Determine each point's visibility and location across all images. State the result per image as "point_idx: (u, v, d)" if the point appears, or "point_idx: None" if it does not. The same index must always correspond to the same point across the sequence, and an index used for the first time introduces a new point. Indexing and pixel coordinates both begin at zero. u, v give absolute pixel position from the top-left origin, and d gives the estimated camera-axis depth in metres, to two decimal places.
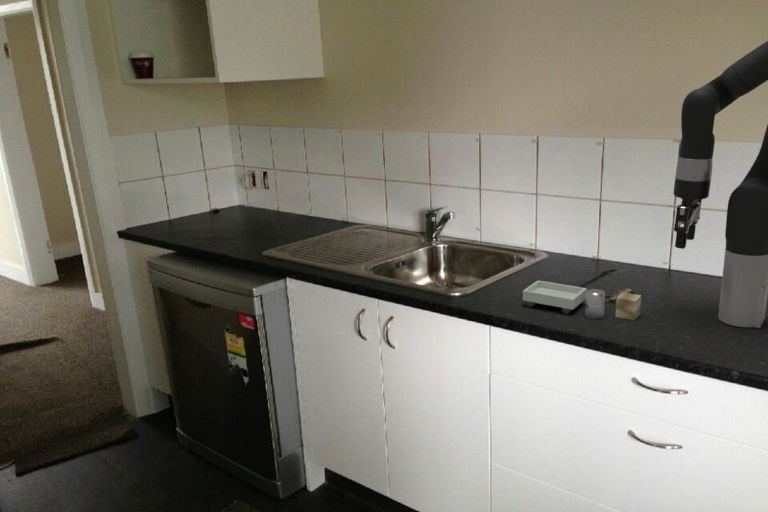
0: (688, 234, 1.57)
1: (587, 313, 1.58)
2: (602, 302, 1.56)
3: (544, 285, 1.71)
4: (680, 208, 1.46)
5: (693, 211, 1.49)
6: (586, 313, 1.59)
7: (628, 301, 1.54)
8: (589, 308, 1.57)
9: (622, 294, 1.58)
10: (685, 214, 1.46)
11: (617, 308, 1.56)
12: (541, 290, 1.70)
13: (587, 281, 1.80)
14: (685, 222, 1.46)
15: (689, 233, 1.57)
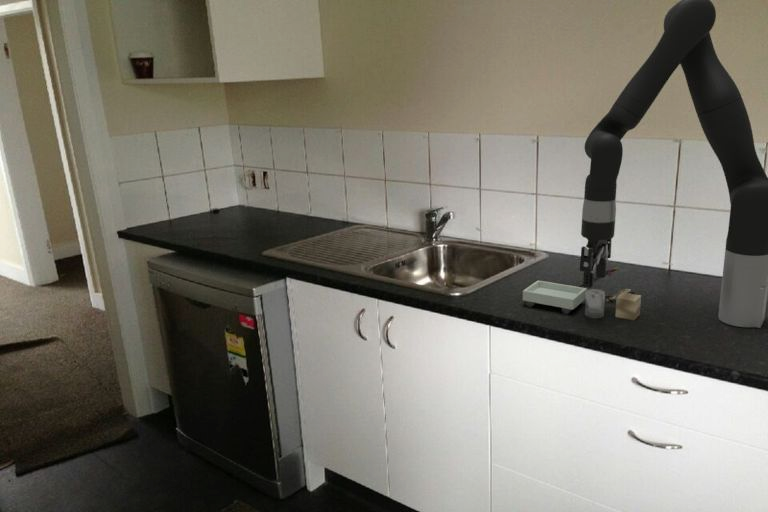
0: (599, 272, 1.60)
1: (587, 313, 1.58)
2: (602, 302, 1.56)
3: (544, 285, 1.71)
4: (584, 249, 1.49)
5: (599, 251, 1.52)
6: (586, 313, 1.59)
7: (628, 301, 1.54)
8: (589, 308, 1.57)
9: (622, 294, 1.58)
10: (589, 255, 1.49)
11: (617, 308, 1.56)
12: (541, 290, 1.70)
13: None
14: (589, 263, 1.49)
15: (600, 271, 1.60)
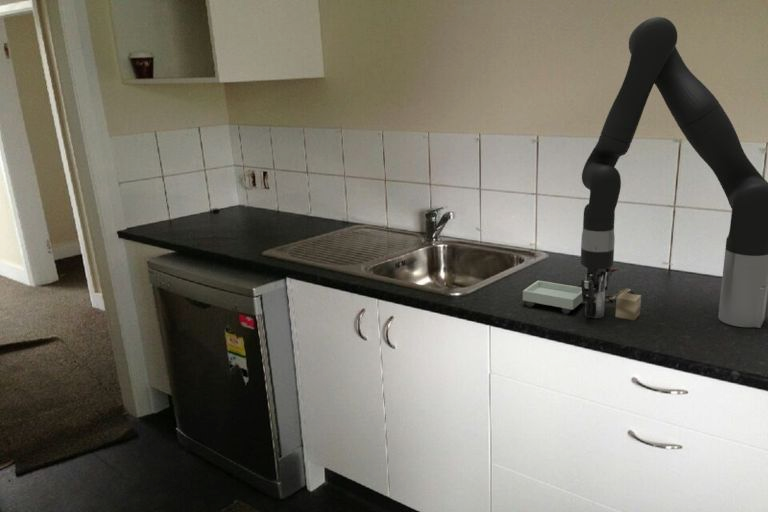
0: None
1: None
2: (602, 302, 1.56)
3: (544, 285, 1.71)
4: (584, 283, 1.51)
5: (599, 281, 1.54)
6: None
7: (628, 301, 1.54)
8: None
9: (622, 294, 1.58)
10: (589, 288, 1.51)
11: (617, 308, 1.56)
12: (541, 290, 1.70)
13: None
14: (591, 295, 1.52)
15: None
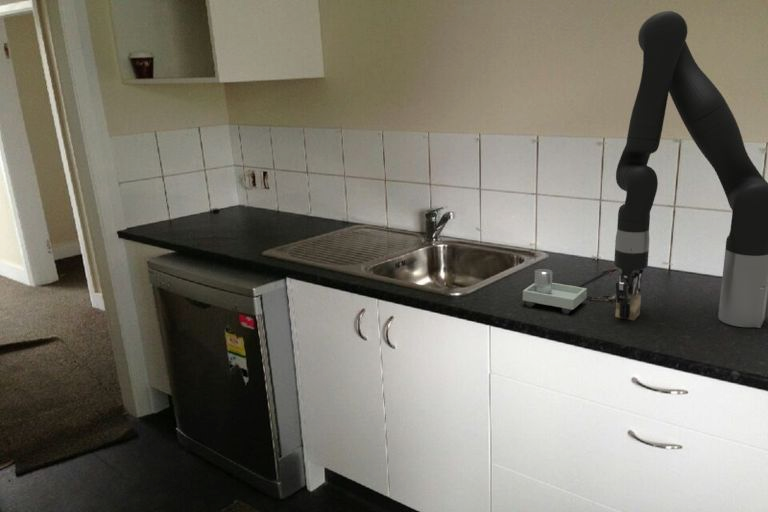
0: None
1: (535, 291, 1.67)
2: (549, 281, 1.65)
3: None
4: (619, 285, 1.50)
5: (633, 282, 1.52)
6: (534, 291, 1.67)
7: None
8: (537, 286, 1.66)
9: None
10: (624, 290, 1.50)
11: (617, 308, 1.56)
12: None
13: (587, 281, 1.81)
14: (625, 296, 1.51)
15: None
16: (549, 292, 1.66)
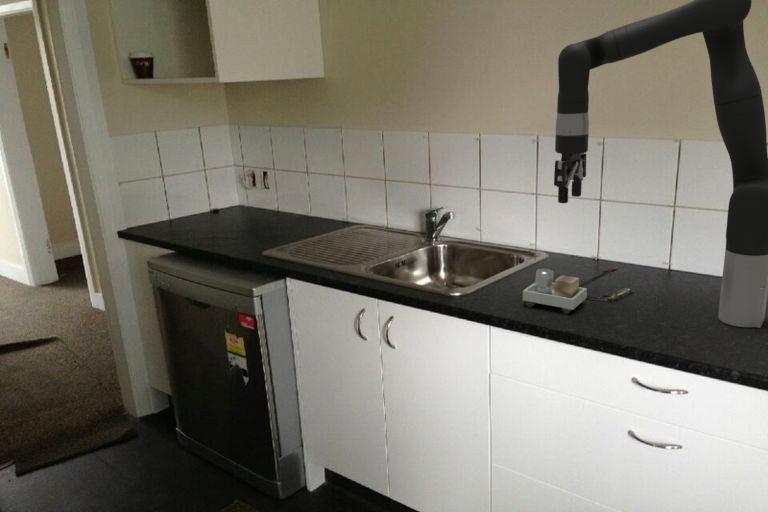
0: (575, 191, 1.59)
1: None
2: (545, 281, 1.64)
3: None
4: (558, 162, 1.49)
5: (573, 166, 1.52)
6: None
7: (565, 283, 1.61)
8: (535, 284, 1.67)
9: (561, 277, 1.64)
10: (562, 168, 1.49)
11: (556, 290, 1.63)
12: None
13: None
14: (563, 176, 1.49)
15: (576, 190, 1.59)
16: (545, 293, 1.65)
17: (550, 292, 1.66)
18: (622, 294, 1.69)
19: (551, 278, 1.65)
